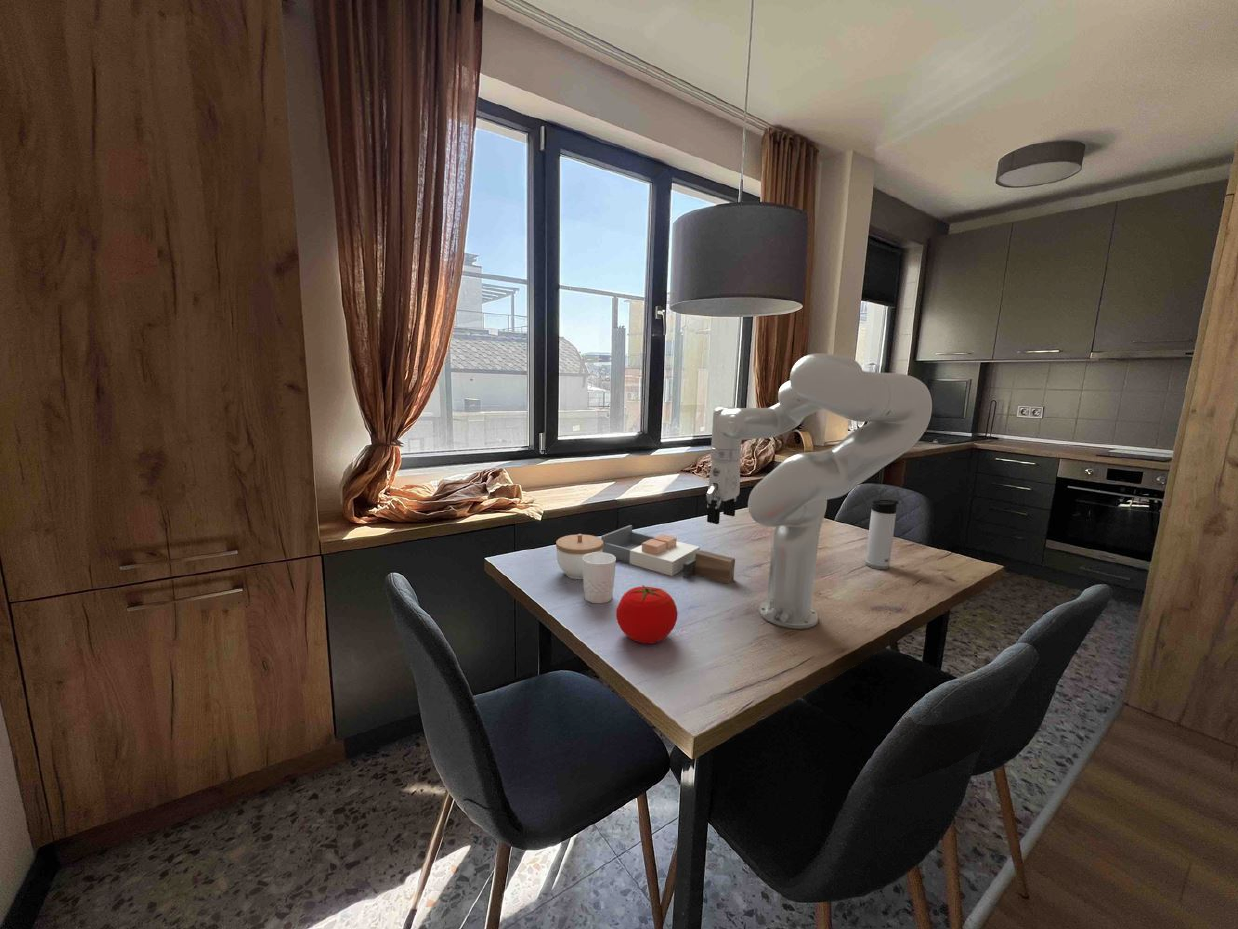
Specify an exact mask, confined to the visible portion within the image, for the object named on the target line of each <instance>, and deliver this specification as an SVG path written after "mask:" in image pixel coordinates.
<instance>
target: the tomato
mask: <svg viewBox="0 0 1238 929" xmlns="http://www.w3.org/2000/svg"><path fill="white" fill-rule="evenodd" d="M641 585H642V586H637V587H633V588H630V589H629V590H628V591H626V592H624V594H623V595H622V597H621V599H620V601H619V603H618V605H617V608H616V611H615V617H616V620H617V624H618V626H619V627H620V630H621V631H622V632H623V634H625V635H626V636H627V637H628V638H630V639H631V640H633V641H635V642H637V643H642V644H654V643H657V642H659V641H661V640H664V639H665V638H666V637H668V635H670V634H671V632H672V631H673V629H674V628H675V626H676V623H677V621H678V609H677V604H676V603H675V600H674V598H673V597H672V595H671V594H669V593H668V592H666V590H663V589H662V588H659V587H654V586H653V587H652V586H644V585H643V584H641Z"/></svg>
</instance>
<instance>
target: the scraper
mask: <svg viewBox="0 0 1238 929" xmlns="http://www.w3.org/2000/svg"><path fill="white" fill-rule="evenodd" d="M735 563H736V558H734V557H729V556H727V555H726V556H725V555H721V554H718V553H714V552H711V551H706V550H701V549H700V551H699V552H697V553H696V556H695V557H694V558H693V559H691V560H689V561H687V562H686V563H684V565H683V570H682V578H683V579H689V578H690V577H693V575H697V576H701V577H704V578H708V579H711V580H713V581H714V580H715V581H718V582H722V583H724V584H725V583H726V584H731V582H733V581H734V580H735V579H734V578H735V577H734V576H735Z"/></svg>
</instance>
